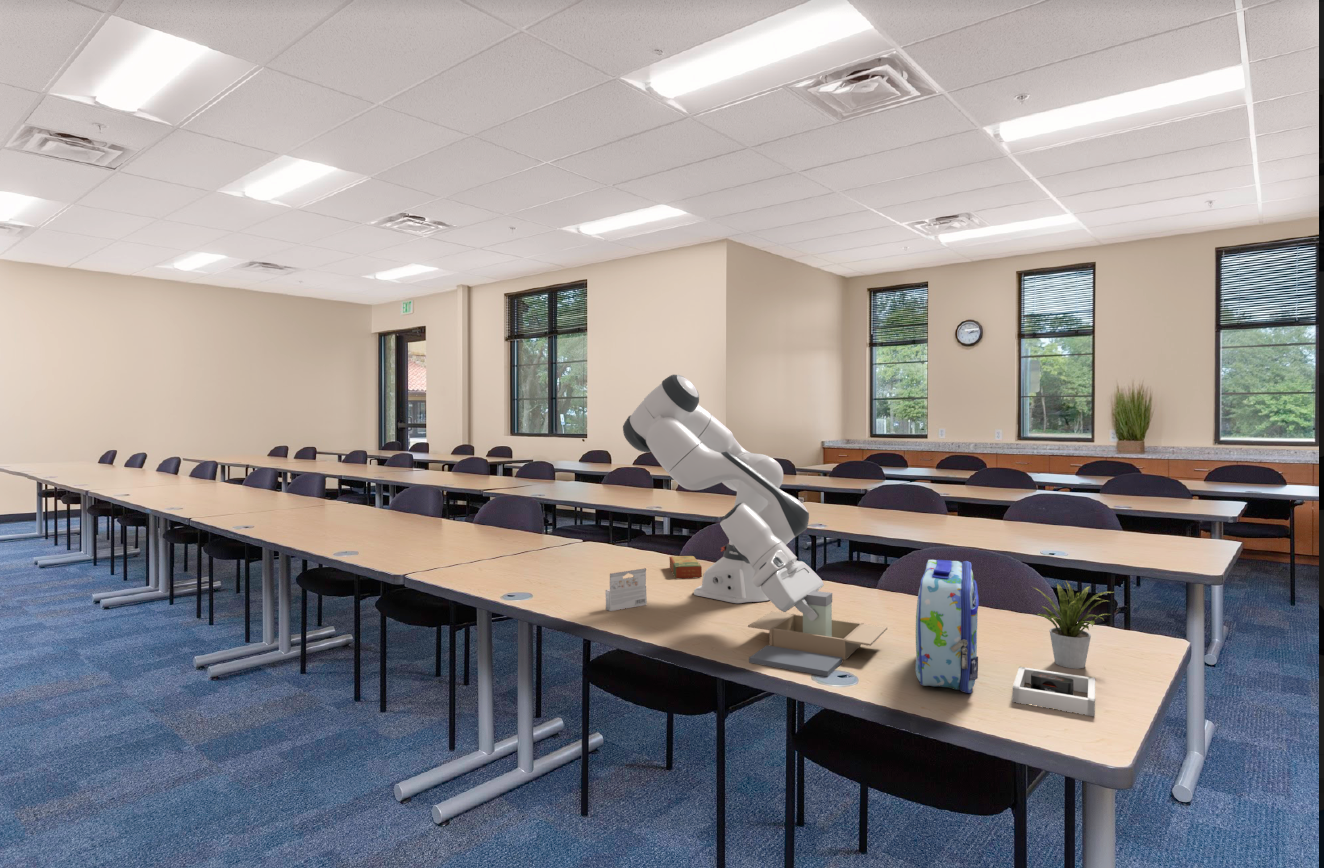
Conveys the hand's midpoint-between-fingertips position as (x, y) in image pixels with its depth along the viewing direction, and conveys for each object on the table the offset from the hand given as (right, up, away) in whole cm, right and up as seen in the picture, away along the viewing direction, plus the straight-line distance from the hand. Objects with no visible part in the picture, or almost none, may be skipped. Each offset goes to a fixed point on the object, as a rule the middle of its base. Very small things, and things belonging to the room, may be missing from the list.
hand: (820, 615), depth 155 cm
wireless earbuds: (+33, -7, -28) cm, 44 cm away
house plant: (+47, -6, -14) cm, 49 cm away
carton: (-26, -6, +74) cm, 79 cm away
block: (-1, -6, +1) cm, 6 cm away
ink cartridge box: (-43, -6, +33) cm, 54 cm away
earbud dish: (+34, -7, -29) cm, 46 cm away
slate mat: (-7, -7, -11) cm, 15 cm away
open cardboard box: (0, -6, +1) cm, 6 cm away
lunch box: (+20, -7, -18) cm, 28 cm away
